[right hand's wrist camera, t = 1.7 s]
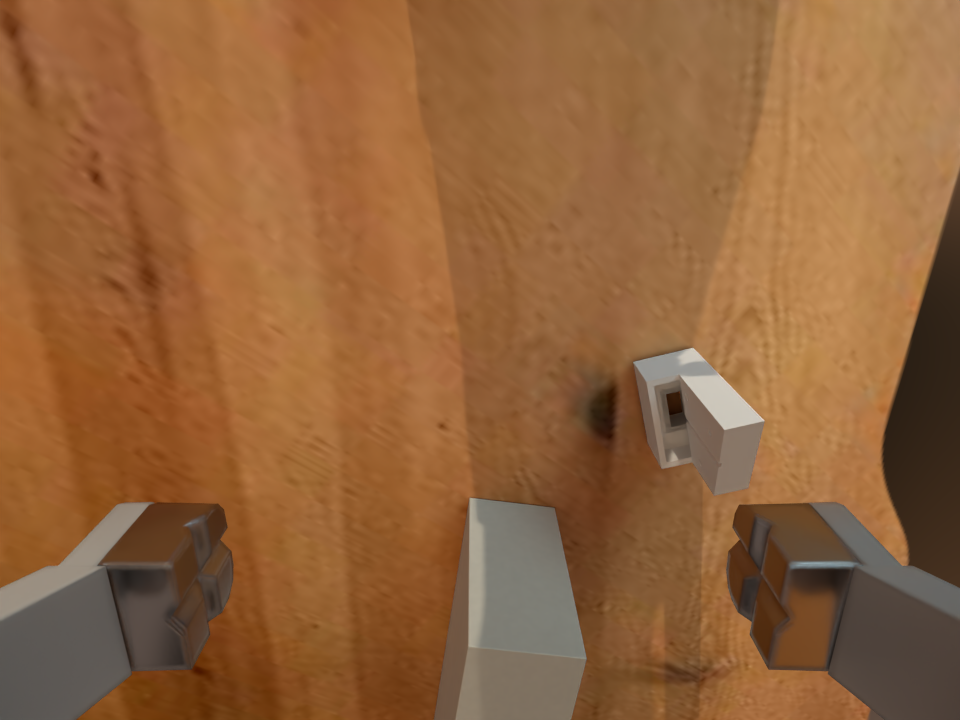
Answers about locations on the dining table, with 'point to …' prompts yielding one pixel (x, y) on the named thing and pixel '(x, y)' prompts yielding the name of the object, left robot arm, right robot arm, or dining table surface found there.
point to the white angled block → (698, 420)
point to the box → (511, 620)
